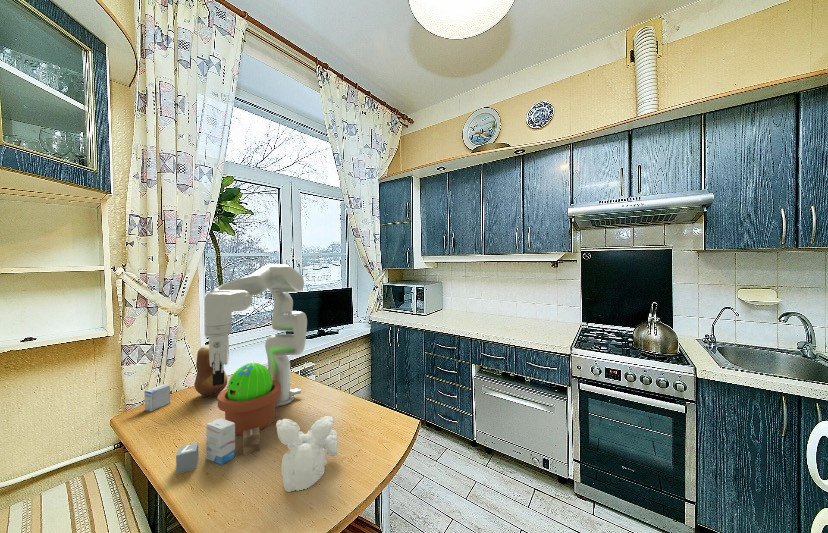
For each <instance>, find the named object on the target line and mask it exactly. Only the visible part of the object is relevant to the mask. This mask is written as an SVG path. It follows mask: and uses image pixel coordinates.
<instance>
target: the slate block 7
mask: <svg viewBox="0 0 828 533" xmlns="http://www.w3.org/2000/svg"><path fill="white" fill-rule="evenodd" d="M199 459H200V458H199V441H198V442H197V441H196V442H192V443H189V444H185V445H182V446H179V447H178V449H177V452H176V454H175V464H176V465H175V466H176V467H175V469H176V475H180V474H183V473H186V472H190V471H193V470H196V469H197V467H198V464H199Z"/></svg>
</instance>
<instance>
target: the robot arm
mask: <svg viewBox="0 0 828 533" xmlns="http://www.w3.org/2000/svg"><path fill="white" fill-rule="evenodd" d="M304 287H305V280H304V277H303V276H302V274H300V273H299V272H298V271H297V270H296V269H294V268H293V267H292V266H290V265H288V264H266V265H263V266H261V267H260V268H258V269H257V270H256V271H253V273H251V274H250V275H248V276H244V277H241V278H237V279H234V280H230V281H228V282H226V283H225V282H224V283H223V284H221V285H219V286H217V287H215V288H214V289H212V290H211V291H210V292H209V293H207V294H205V297H204V336H205V337H208V345H209V360H210V366H211V367H212V366H213V386H216V385H222V384H224V371H225V369H224V368H225V366H227V365H228V364H229V361H230V360H229V359H230V350H229V347H230V346H229V343H230V342H229V340H230V339H229V334H232V333H233V332H232V331H233V330H232V313H233V312H242V311H245V310H247V309H249V308H250V306H251V305H252V304H253V296H256V295H257V296H258V295H260V294H263V293H264V292H265V291H266V290H267V289H268V291H269V292H270V294H271V296H272V298H273V310H272V311H273V312H272V318H271V328H272V329H273V330H274V331H278V332H293V334H291V333H276V334H271V335H270V336H268V337H267V338H266V340H265V343H264V344H265V346H264V347H265V348H264V349H265V353H266V357H267V369H268V371H270V374H271V377H272V380H273V381H276V382H279V383H280V385H281V395H280V397H279V398H278V399H277V400H276V401H275V408H276V407H283V406H285V405H288V404H290V403H292V402H293V400H294V399H295V395H300V394H301V393H302V389H298V388H294V389H292V388H291V362H290V359H289V357H288V356H299V355H301V354H303V352H304V350H305V346H306V341H307V340H306V339H307V337H306V336H307V329H308V328H307V327H308V318H307V314H306V313H305V312H303V311H299V310H298V311H297V310H293V307H294V300H293V298H292V296H291V294H290V293H298V292H301V291H302V290H303V289H304Z"/></svg>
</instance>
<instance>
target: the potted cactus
mask: <svg viewBox="0 0 828 533" xmlns="http://www.w3.org/2000/svg"><path fill="white" fill-rule="evenodd" d="M280 395H281V385H280V383H279V382H276V381H273V380H272V377H271V374H270V371H268V367H266V365H264V364H261V363H260V362H259V363H257V362H249V363H246V364H244V365H241V366H240V367H238V369H236V371H235V372H233V373H232V374H231V376H230V379H229V380H228V382H227V385H226V389H225V388H224V389H223V390H222V391H221V392H220V393H218V394H217V408H218V409H219V410H220V411H222V412H224V418H225V420H228V421H231V422H233V423H235V436H237V435H238V436H243V431H245V430H249V429H253V428H257V427H259V431H260V430H263V429H265V428H267V427H268V426H269V425H271V423H272V424H273V422H274V420H275V419H276V407H275V401H276V400H277V399H278V398H279V397H280Z"/></svg>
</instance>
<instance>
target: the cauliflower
mask: <svg viewBox="0 0 828 533" xmlns="http://www.w3.org/2000/svg"><path fill="white" fill-rule="evenodd" d="M334 418H335V417H334V416H328V415H326V416H322V417H319V419H318V420H317V419H316V421H315V422H314V424H312V425H311V426H310V429H309V430H307V433H304V432H303V431H302V430H301V431H300V429H301V428H300V426H299V424H298V423H297V422H296V421H294V420H292V419H290V418H282V419H278V420H277V421H276V423H275V427H276V434H277V437H278V439H279V440H280V442H281V444H282V445H286V446H287V449H289V451H285V452H284V454H283V456H282V459H281V465H280V466H281V467H280V468H281V478H282V483H283V487H284V488H283V489H285V491H286V492H287V493H291V491H292V492H294V491H295V490H296V491H297V492H300V491H299V490H302V491H304V490H303V489H305V490H307V488H308V489H309V488H311V487H312V486H314V485H315V484H316V483H317V482H318V481H319V480H321V478H322V477H323V475H324V473H325V465H327V464H328V459H327V460H326V457H327V456H326V455H328V456H329V457H335V456H337V455H338V434H337V431H336V430H335V429H333V427H334V422H335V419H334ZM296 491H295V492H296Z"/></svg>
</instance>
